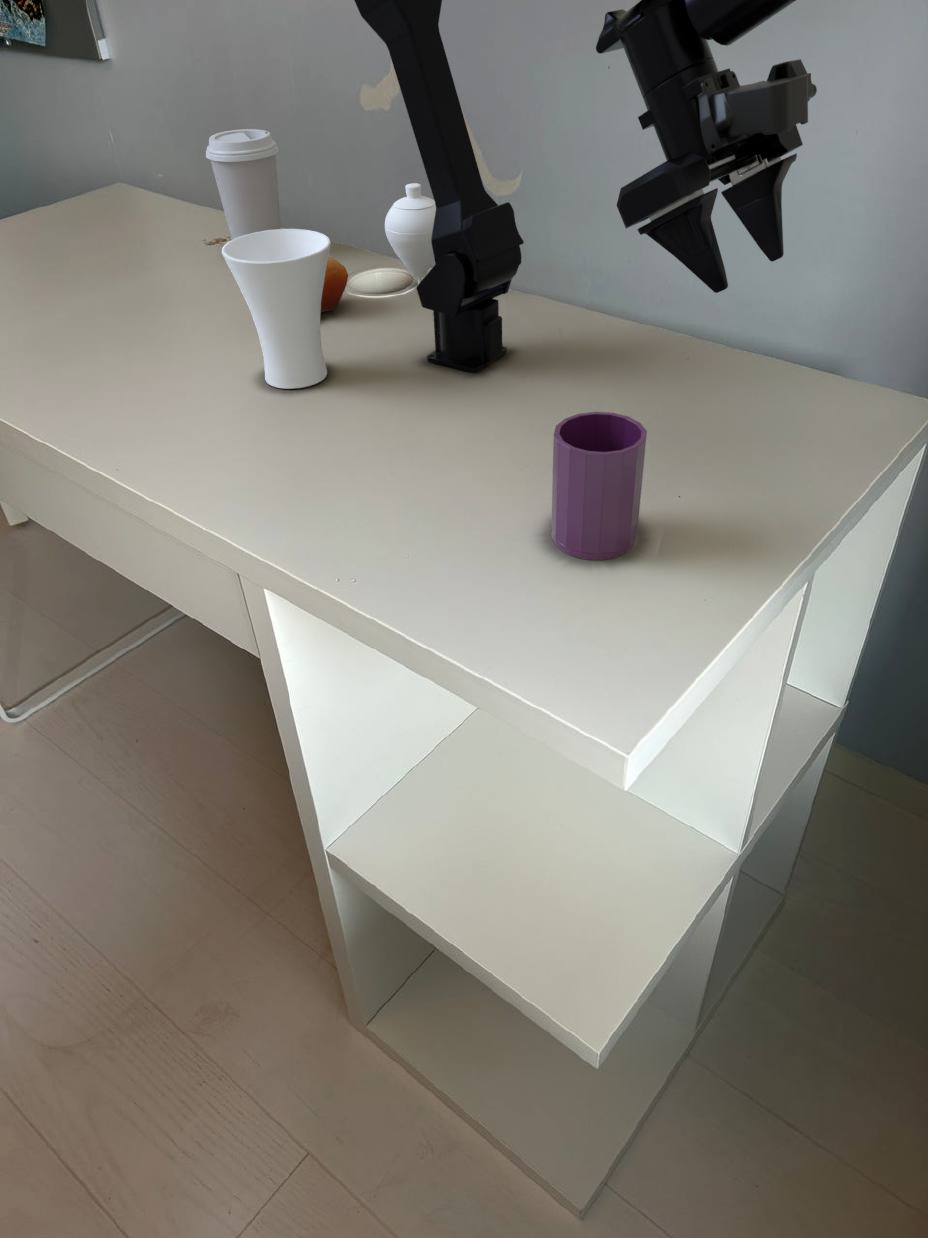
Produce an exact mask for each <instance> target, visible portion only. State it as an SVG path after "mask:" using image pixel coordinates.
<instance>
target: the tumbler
mask: <svg viewBox="0 0 928 1238" xmlns="http://www.w3.org/2000/svg"><path fill="white" fill-rule="evenodd" d="M647 434H648V432H647V430H646V428H645V427H644V425H643V424H642V423H641V422H640V421H637V420H636V419H634V418H632V417H631V416H628V415H625V414H620V413H617V412H616V413H615V412H608V411H589V412H581V413H577V414H573V415H571V416H568V417H566V418H563V419H562V420H561V421H560V422H559V423H558V424H556V425H555V427H554V432H553V447H552V449H553V452H552V453H553V455H552V487H551V488H552V489H551V490H552V491H551V528H550V529H551V530H550V531H551V540H552V542H553V543H554V545H555V546H556V547H557V548H558V549H559V550H560V551H561V552H563V553H564V554H567V555H569V556H571V557H574V558H578V559H582V560H587V561H588V560H589V561H605V560H611V559H615V558H618V557H621V556H623V555H626V554H627V553H628V552H630V551H631V550H632V549H633V548H634V547H635V545H636V543H637V540H638V531H639V530H638V529H639V521H640V510H641V500H642V499H641V498H642V486H643V477H644V467H645V466H644V465H645V456H646V455H645V454H646V444H647V436H648V435H647Z"/></svg>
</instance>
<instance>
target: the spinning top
mask: <svg viewBox="0 0 928 1238" xmlns="http://www.w3.org/2000/svg"><path fill="white" fill-rule="evenodd" d="M404 189H405V194H406V196H403V197H402V198H399V199H397V200H396V201H394V202H393V203H392V206H391V207H390V208H389V210H388V212H387V214H386V216H385V219H384V232H385V235H386V239H387V241H388V242H389V244H390V247H391V248H392V250H393V251H394V253H395V255H396V256H397V257H398V259H400V261H401V262H402V264H403V265H404V266H405V267H406V268H407V270H408V271H409V272H410V273H411V274H412V275H413V276H414V277H415V278H416V279H417V285H418V284H419V283H420V282H421V281H422V278H423V277H425V275H426V273H428V271H429V269H430V267H431V266H432V265H433V262H435V259H434V253H433V248H432V243H431V238H432V231H433V225H434V219H435V212H436V205H435V201H434V198H430V197H428V196H424V195H422V184H420V183H416V182H413V183H408V184H407V183H406V185H405V187H404Z"/></svg>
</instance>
